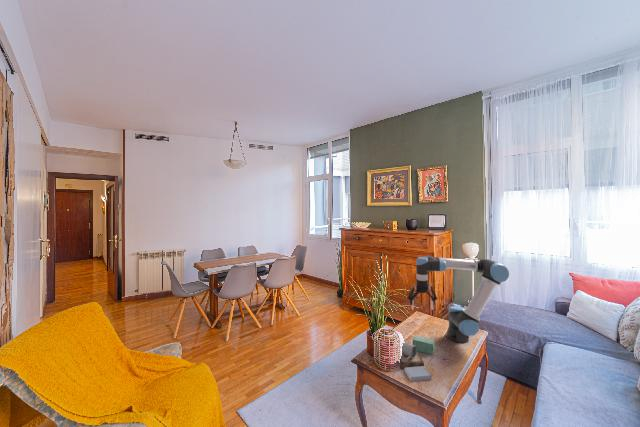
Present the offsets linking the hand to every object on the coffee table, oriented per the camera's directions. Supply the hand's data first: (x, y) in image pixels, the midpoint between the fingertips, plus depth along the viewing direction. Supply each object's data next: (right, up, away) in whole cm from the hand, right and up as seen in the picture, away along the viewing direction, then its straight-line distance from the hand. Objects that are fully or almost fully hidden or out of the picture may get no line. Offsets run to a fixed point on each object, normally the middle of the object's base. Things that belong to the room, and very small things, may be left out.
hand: (422, 309), depth 189 cm
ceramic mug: (-16, -24, -19) cm, 34 cm away
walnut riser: (-15, -28, -17) cm, 36 cm away
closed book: (-15, -28, -30) cm, 44 cm away
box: (0, -27, -3) cm, 27 cm away
